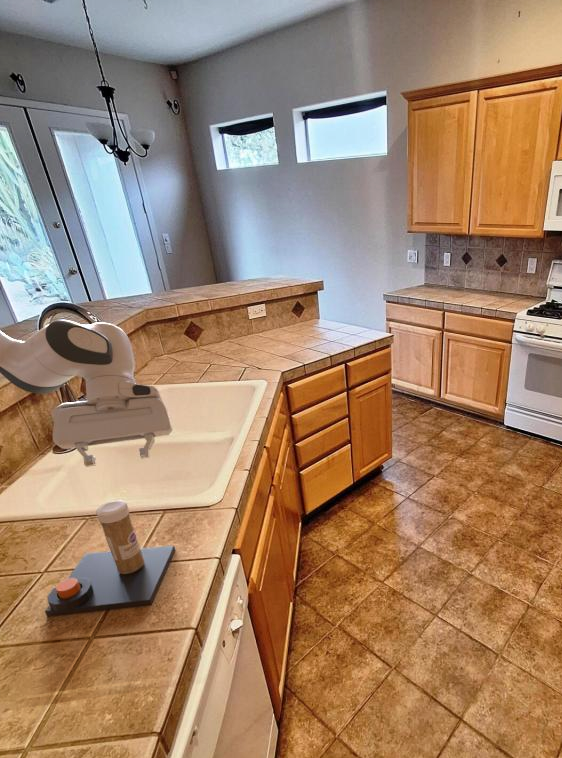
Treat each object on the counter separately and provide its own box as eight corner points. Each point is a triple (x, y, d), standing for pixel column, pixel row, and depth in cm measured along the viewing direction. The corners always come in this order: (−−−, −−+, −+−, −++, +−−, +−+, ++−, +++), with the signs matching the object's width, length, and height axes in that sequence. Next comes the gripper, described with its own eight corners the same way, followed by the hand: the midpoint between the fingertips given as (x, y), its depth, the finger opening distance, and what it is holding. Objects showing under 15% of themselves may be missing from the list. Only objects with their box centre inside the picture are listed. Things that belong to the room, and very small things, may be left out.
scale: (45, 619, 70) (39, 606, 69) (87, 559, 83) (82, 546, 82) (150, 607, 73) (146, 594, 71) (175, 550, 85) (172, 538, 84)
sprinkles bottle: (141, 573, 78) (121, 512, 72) (113, 576, 77) (90, 516, 71) (148, 556, 82) (130, 497, 76) (121, 559, 81) (101, 500, 75)
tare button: (55, 600, 71) (51, 592, 70) (64, 586, 73) (61, 578, 72) (75, 598, 71) (72, 590, 70) (84, 584, 74) (81, 576, 73)
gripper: (44, 397, 82) (47, 466, 78) (164, 386, 89) (171, 448, 85) (58, 410, 87) (61, 475, 84) (170, 398, 95) (177, 457, 91)
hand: (118, 461), depth 85 cm, fingers open, 8 cm apart
